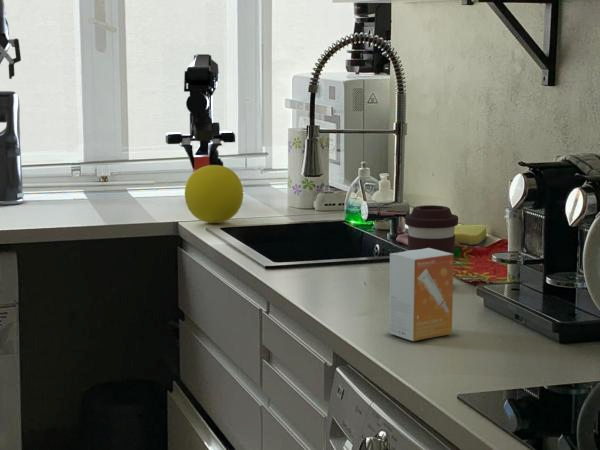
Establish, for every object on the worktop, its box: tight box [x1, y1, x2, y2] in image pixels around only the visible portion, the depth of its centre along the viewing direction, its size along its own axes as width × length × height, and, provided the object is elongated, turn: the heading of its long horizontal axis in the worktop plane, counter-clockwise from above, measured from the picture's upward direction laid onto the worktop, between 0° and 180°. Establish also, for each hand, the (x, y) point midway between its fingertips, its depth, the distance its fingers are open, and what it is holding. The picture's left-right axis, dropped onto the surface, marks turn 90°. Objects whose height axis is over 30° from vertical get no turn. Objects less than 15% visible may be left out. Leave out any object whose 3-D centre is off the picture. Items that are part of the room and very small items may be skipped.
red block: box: [192, 154, 209, 173], centre depth 291 cm, size 4×5×5 cm
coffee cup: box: [404, 204, 459, 255], centre depth 197 cm, size 10×10×15 cm
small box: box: [388, 248, 455, 342], centre depth 164 cm, size 8×6×13 cm
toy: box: [184, 165, 244, 224], centre depth 272 cm, size 15×15×15 cm
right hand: (201, 168), depth 291 cm, fingers closed on red block, 4 cm apart
